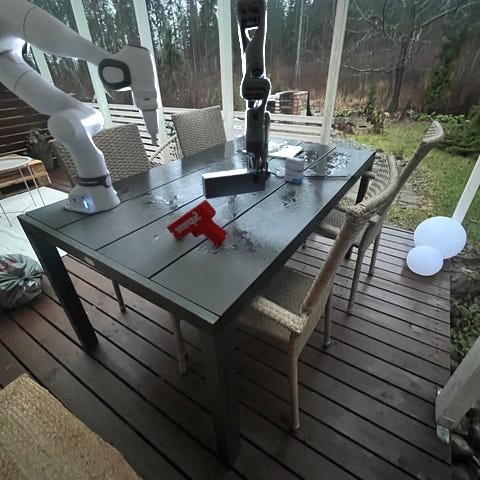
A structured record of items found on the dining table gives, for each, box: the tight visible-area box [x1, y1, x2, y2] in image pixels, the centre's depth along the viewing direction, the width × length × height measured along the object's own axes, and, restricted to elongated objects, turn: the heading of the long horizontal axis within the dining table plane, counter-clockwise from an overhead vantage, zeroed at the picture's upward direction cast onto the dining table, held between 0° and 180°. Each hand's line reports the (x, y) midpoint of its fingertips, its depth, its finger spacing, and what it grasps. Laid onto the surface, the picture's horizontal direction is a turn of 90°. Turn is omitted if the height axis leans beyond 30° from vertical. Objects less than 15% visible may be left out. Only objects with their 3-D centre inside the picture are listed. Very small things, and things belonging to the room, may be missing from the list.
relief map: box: [242, 138, 304, 160], centre depth 192 cm, size 27×35×5 cm
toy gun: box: [166, 199, 228, 248], centre depth 93 cm, size 18×4×15 cm
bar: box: [201, 167, 267, 200], centre depth 111 cm, size 25×5×9 cm, turn 109°
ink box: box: [284, 156, 306, 185], centre depth 140 cm, size 8×5×12 cm, turn 47°
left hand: (154, 142), depth 102 cm, fingers open, 8 cm apart
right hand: (253, 180), depth 113 cm, fingers closed on bar, 5 cm apart
